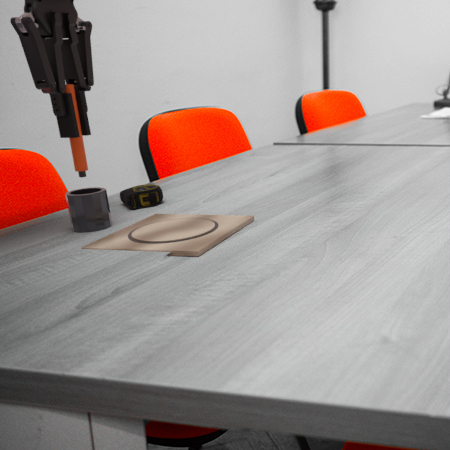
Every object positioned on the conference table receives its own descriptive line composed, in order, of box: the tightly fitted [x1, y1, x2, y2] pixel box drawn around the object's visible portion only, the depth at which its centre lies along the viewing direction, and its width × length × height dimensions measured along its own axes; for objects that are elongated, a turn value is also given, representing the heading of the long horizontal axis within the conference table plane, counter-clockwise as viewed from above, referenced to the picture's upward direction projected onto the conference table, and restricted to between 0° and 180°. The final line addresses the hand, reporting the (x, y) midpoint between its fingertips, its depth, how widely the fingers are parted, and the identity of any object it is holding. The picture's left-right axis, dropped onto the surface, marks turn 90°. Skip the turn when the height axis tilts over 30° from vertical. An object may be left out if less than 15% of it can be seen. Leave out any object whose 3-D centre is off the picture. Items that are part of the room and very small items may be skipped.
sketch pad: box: [81, 213, 255, 258], centre depth 88 cm, size 18×18×1 cm
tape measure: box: [119, 183, 164, 210], centre depth 105 cm, size 7×7×4 cm
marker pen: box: [65, 83, 89, 178], centre depth 87 cm, size 2×2×14 cm
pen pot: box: [64, 186, 113, 234], centre depth 91 cm, size 6×6×6 cm
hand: (75, 136), depth 87 cm, fingers closed on marker pen, 2 cm apart
